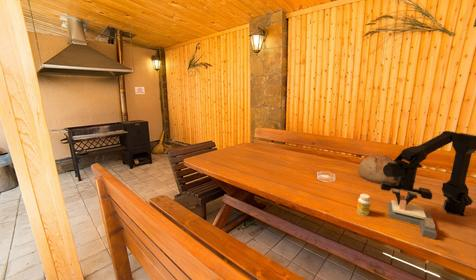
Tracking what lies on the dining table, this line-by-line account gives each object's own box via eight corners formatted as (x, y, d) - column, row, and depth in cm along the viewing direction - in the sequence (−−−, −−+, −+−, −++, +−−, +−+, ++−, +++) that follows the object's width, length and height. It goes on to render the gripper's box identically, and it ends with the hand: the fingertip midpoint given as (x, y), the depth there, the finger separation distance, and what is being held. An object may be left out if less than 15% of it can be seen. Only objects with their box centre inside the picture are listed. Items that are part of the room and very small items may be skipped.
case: (428, 215, 100) (429, 209, 99) (438, 240, 83) (440, 234, 83) (388, 205, 108) (388, 200, 107) (390, 227, 92) (391, 221, 91)
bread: (360, 167, 159) (363, 148, 155) (398, 174, 146) (401, 154, 142) (355, 179, 139) (358, 158, 135) (398, 188, 125) (403, 166, 121)
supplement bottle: (364, 209, 105) (366, 192, 103) (371, 215, 100) (374, 198, 98) (354, 210, 105) (356, 193, 103) (360, 216, 100) (363, 198, 98)
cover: (421, 208, 100) (424, 198, 98) (425, 219, 92) (428, 208, 90) (391, 201, 106) (393, 192, 105) (392, 211, 98) (394, 201, 97)
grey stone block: (431, 223, 89) (432, 219, 89) (434, 229, 85) (435, 225, 85) (422, 220, 91) (423, 216, 90) (424, 227, 87) (425, 223, 86)
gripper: (430, 173, 97) (423, 202, 101) (382, 166, 107) (378, 193, 111) (436, 182, 88) (428, 214, 92) (383, 173, 98) (378, 202, 102)
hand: (401, 205), depth 100 cm, fingers closed on cover
